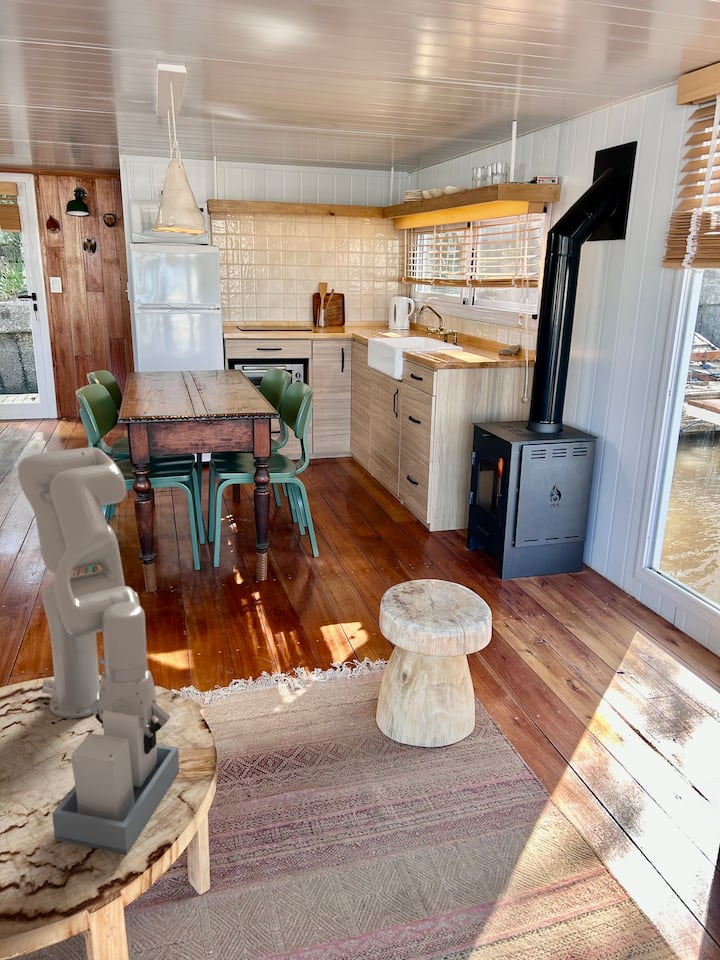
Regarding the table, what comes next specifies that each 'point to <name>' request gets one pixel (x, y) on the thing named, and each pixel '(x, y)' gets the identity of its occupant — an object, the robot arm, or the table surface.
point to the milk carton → (131, 743)
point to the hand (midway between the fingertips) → (131, 745)
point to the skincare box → (103, 777)
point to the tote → (113, 832)
